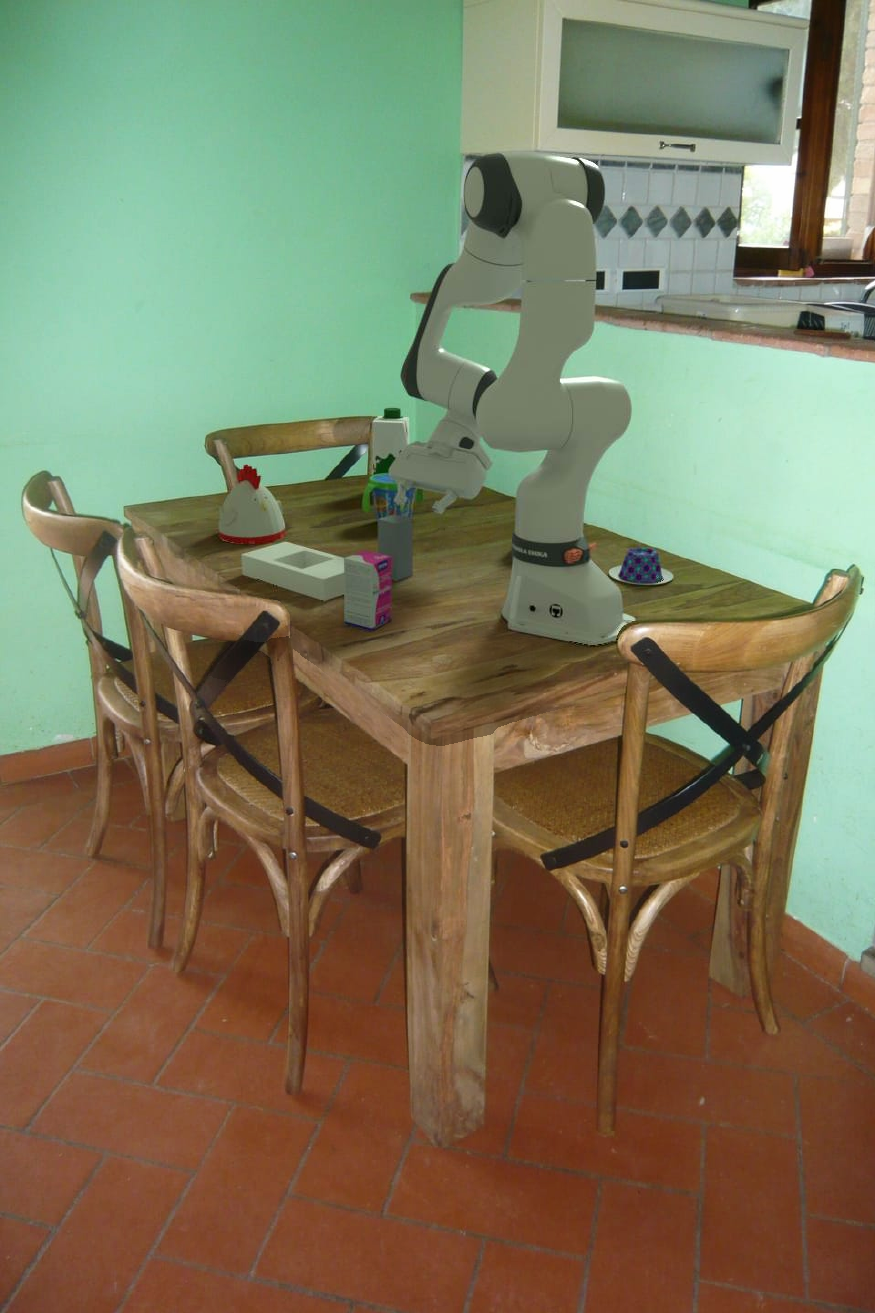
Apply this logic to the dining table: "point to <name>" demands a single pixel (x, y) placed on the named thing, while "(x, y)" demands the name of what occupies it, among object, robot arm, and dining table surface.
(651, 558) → the pudding
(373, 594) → the supplement box
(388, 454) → the milk carton
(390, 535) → the charcoal peg
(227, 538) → the kitchen timer
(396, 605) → the dining table surface
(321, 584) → the white socket block
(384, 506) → the snack cup
